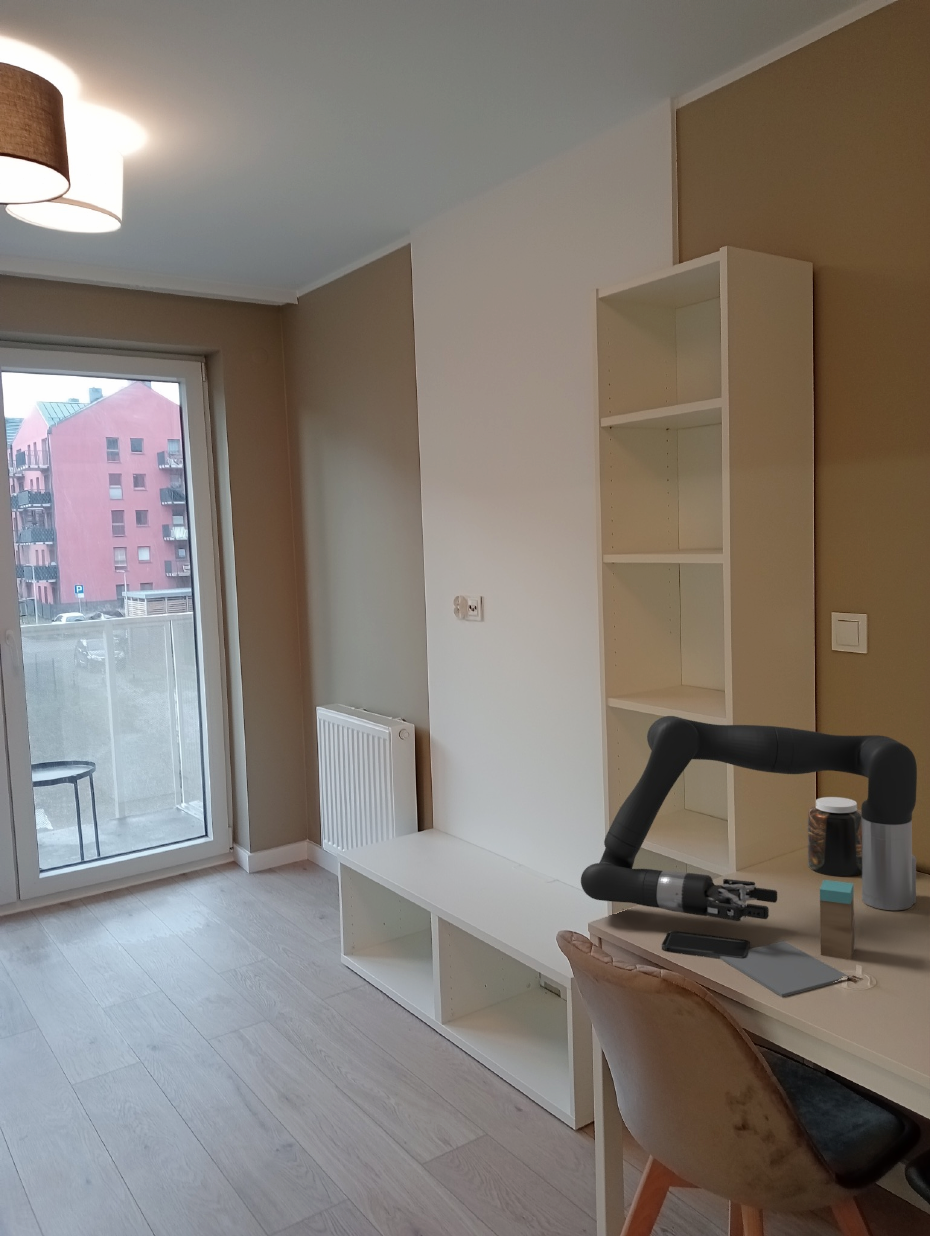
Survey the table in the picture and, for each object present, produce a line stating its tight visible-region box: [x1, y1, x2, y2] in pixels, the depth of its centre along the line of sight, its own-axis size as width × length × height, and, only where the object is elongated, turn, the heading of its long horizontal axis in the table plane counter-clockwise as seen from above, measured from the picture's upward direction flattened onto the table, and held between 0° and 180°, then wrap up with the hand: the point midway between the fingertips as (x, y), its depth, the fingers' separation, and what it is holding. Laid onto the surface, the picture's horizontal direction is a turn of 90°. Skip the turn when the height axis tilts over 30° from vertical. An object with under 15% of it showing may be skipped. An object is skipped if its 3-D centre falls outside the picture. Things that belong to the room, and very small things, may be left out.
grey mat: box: [720, 940, 850, 998], centre depth 165 cm, size 14×16×1 cm
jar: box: [807, 796, 862, 877], centre depth 212 cm, size 12×12×15 cm
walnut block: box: [819, 879, 855, 961], centre depth 170 cm, size 5×5×12 cm
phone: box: [661, 930, 751, 960], centre depth 174 cm, size 8×1×15 cm
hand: (772, 904), depth 175 cm, fingers open, 8 cm apart
